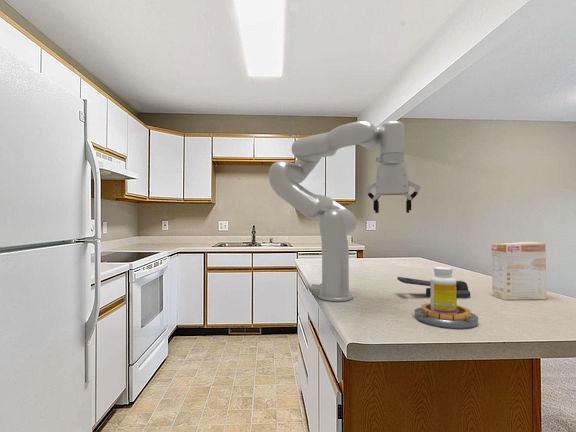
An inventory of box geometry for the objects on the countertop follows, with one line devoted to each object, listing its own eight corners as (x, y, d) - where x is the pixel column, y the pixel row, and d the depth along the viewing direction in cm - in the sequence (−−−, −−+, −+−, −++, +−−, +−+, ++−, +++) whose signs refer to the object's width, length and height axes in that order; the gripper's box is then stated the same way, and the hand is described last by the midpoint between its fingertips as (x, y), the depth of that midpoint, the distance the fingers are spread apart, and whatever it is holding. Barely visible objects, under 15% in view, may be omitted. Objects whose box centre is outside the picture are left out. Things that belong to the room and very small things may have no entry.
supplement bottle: (461, 317, 88) (461, 269, 88) (437, 317, 88) (436, 269, 88) (449, 310, 94) (449, 266, 95) (426, 310, 95) (426, 266, 95)
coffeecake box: (531, 295, 119) (530, 241, 119) (547, 299, 112) (546, 243, 112) (491, 295, 118) (490, 242, 119) (504, 300, 111) (503, 243, 111)
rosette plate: (413, 324, 87) (413, 313, 87) (415, 308, 101) (415, 299, 101) (482, 332, 80) (482, 320, 80) (474, 314, 95) (474, 304, 95)
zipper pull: (394, 276, 123) (460, 275, 123) (395, 293, 123) (460, 292, 123) (403, 280, 114) (474, 279, 114) (403, 299, 114) (474, 298, 114)
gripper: (363, 160, 106) (363, 212, 106) (420, 156, 99) (420, 212, 99) (367, 164, 113) (367, 213, 113) (420, 160, 106) (420, 212, 106)
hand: (392, 212), depth 106 cm, fingers open, 9 cm apart
